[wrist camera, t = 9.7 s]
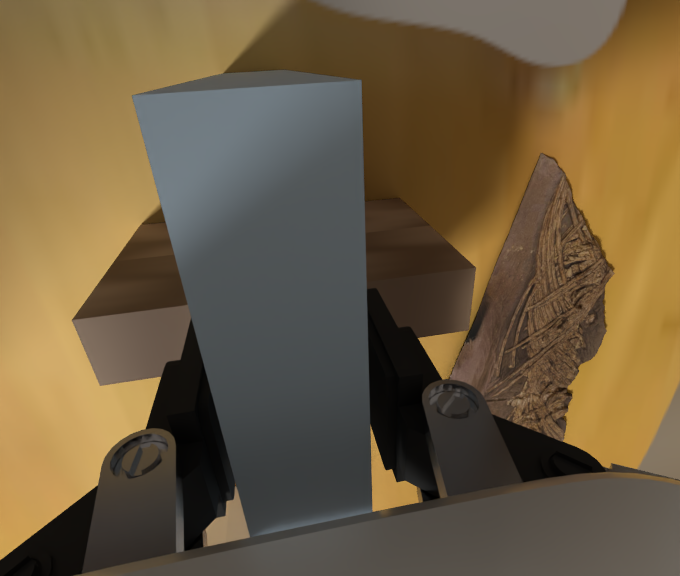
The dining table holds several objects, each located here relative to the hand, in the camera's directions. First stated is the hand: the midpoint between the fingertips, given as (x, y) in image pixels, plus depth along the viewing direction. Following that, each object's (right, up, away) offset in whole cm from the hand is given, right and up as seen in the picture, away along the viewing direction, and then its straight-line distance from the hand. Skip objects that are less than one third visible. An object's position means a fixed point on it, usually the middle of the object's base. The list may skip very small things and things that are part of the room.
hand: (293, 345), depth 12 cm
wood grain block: (-2, +4, +8) cm, 9 cm away
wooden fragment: (+13, -3, +15) cm, 20 cm away
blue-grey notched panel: (-2, +4, +8) cm, 9 cm away
